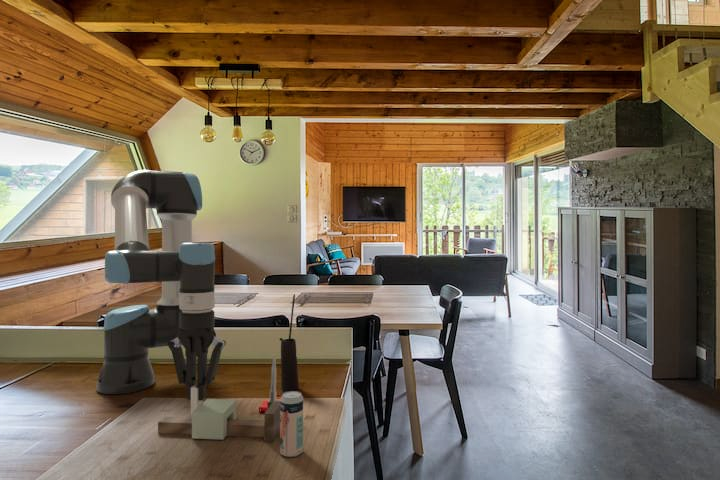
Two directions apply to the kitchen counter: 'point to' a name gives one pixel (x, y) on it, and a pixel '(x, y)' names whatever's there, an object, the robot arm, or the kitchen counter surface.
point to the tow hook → (273, 389)
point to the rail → (231, 425)
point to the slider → (212, 418)
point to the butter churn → (289, 361)
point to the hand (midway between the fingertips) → (196, 414)
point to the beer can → (291, 424)
